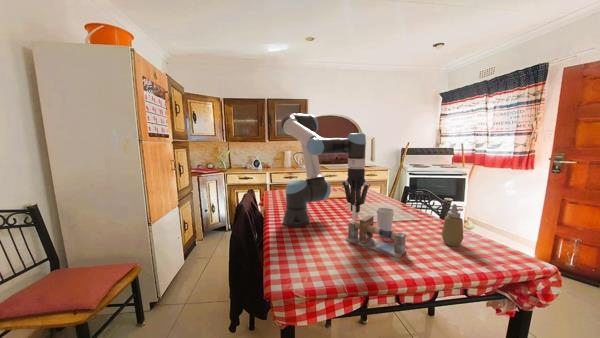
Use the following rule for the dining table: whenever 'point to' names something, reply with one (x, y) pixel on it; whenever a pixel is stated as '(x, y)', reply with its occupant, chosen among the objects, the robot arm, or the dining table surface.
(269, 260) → the dining table surface
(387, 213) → the cup
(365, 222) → the collar
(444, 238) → the squeeze bottle
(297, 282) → the dining table surface
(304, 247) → the dining table surface
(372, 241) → the rail
